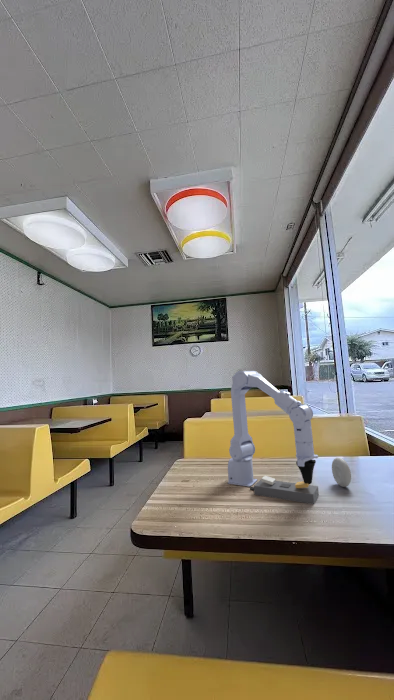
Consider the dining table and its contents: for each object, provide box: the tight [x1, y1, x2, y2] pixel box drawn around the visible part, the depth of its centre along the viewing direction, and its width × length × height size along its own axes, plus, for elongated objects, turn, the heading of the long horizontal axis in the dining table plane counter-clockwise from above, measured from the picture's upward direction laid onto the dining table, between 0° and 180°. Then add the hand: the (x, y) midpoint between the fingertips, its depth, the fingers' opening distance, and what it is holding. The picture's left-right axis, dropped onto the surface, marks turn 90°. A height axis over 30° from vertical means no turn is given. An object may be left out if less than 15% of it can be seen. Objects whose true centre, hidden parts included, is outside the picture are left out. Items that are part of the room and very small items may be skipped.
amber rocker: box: [295, 480, 311, 488], centre depth 101 cm, size 4×4×1 cm
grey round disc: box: [331, 457, 352, 488], centre depth 109 cm, size 10×4×10 cm, turn 2°
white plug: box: [260, 475, 277, 485], centre depth 107 cm, size 4×4×1 cm
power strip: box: [249, 479, 320, 505], centre depth 105 cm, size 23×8×3 cm, turn 58°
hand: (308, 483), depth 100 cm, fingers closed, pressing on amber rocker
